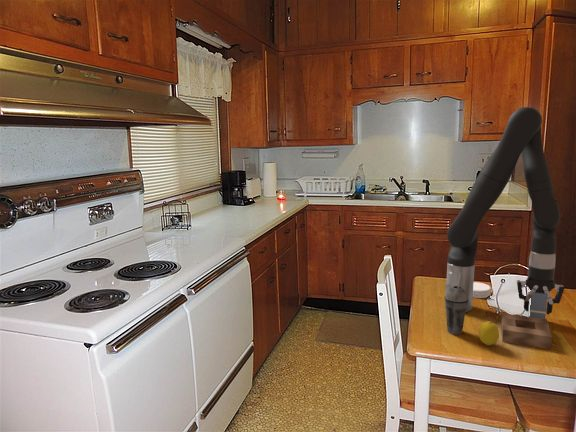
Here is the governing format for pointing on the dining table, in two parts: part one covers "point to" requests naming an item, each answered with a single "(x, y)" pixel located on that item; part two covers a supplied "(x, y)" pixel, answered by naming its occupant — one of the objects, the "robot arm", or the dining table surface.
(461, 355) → the dining table surface
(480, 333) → the lemon
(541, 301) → the peg
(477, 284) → the white shallow cylinder
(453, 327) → the beverage cup
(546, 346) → the board
